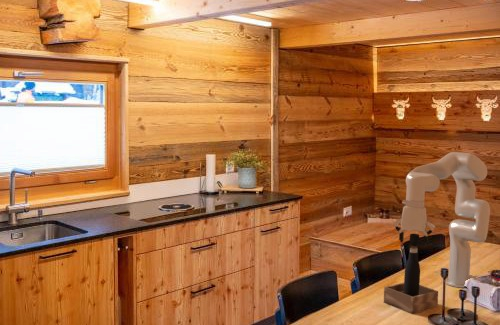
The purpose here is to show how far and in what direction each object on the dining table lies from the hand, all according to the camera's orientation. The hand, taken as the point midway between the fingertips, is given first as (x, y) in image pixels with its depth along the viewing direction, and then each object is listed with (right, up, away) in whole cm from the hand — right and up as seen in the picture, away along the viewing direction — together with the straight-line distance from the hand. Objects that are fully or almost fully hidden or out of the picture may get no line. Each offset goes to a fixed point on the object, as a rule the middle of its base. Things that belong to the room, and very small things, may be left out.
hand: (413, 243), depth 248 cm
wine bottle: (0, -26, +3) cm, 27 cm away
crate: (0, -27, +3) cm, 27 cm away
